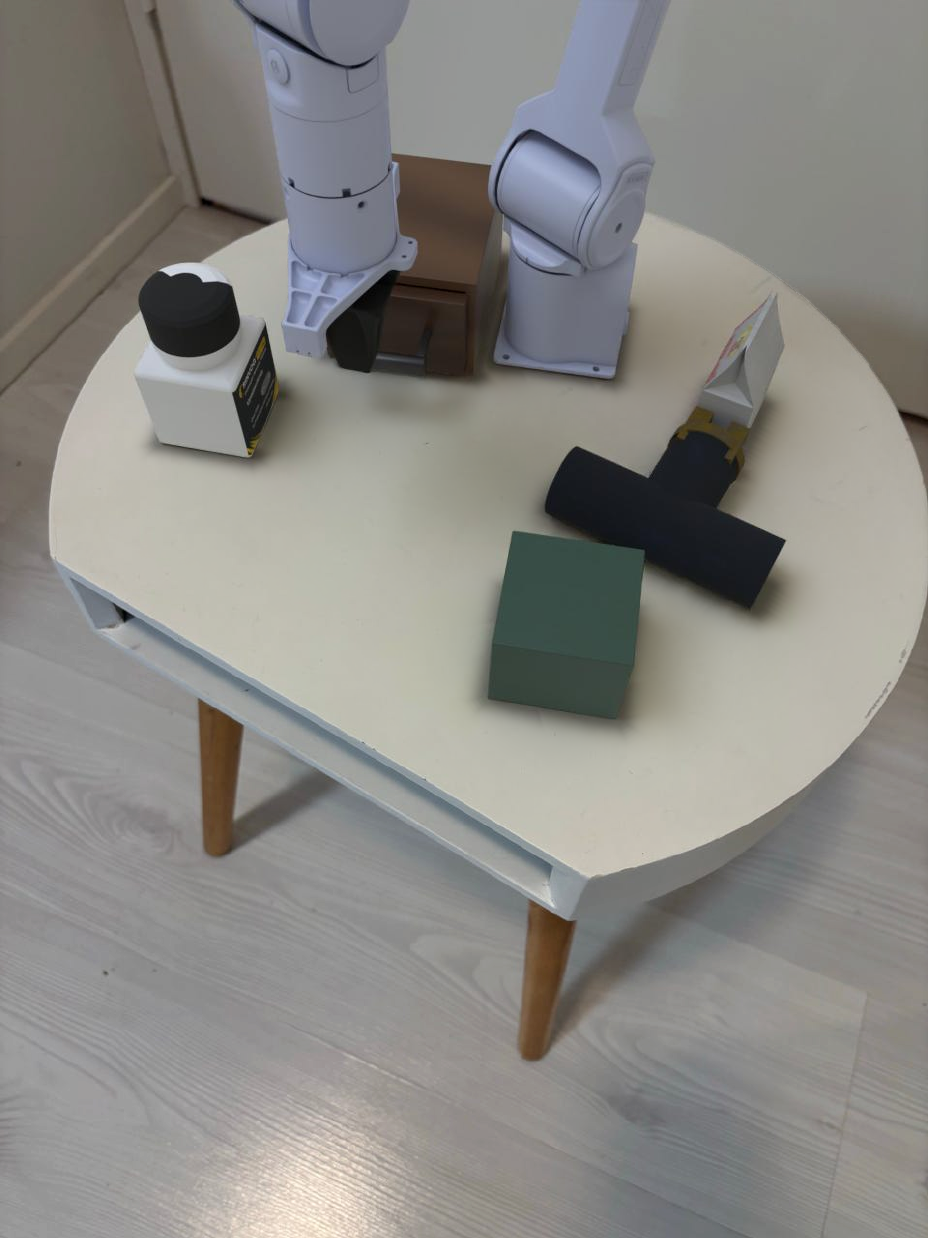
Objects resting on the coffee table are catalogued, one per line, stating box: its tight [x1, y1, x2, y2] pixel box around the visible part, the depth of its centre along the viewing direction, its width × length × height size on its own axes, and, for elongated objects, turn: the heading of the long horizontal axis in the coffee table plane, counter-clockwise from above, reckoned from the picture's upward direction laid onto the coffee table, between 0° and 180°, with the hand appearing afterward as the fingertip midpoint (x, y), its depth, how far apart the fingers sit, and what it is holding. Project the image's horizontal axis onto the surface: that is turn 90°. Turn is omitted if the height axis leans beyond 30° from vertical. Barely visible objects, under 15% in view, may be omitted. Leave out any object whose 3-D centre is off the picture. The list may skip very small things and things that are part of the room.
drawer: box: [328, 285, 468, 378], centre depth 73 cm, size 17×10×7 cm, turn 170°
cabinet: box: [326, 152, 504, 376], centre depth 75 cm, size 14×12×9 cm
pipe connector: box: [544, 405, 787, 611], centre depth 65 cm, size 12×5×15 cm
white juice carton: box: [696, 289, 786, 431], centre depth 68 cm, size 4×7×10 cm, turn 152°
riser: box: [487, 530, 645, 720], centre depth 59 cm, size 8×8×7 cm
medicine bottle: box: [133, 262, 280, 458], centre depth 67 cm, size 7×7×12 cm
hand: (357, 362), depth 61 cm, fingers closed
